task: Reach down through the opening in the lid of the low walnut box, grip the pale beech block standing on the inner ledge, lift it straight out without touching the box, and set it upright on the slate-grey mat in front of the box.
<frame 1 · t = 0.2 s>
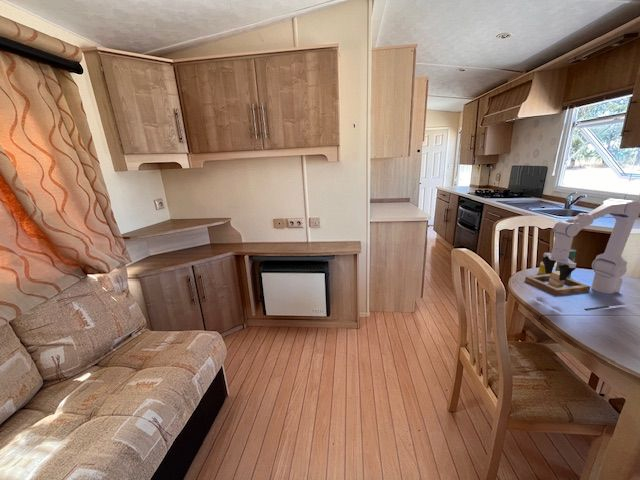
hand: (555, 276, 118), 10 cm above the table, fingers open, 7 cm apart
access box: (555, 287, 129), on the table
beech block: (555, 285, 129), point 1 cm above the table, touching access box
supplement bottle: (544, 276, 142), on the table
place mat: (583, 302, 115), on the table
can: (562, 275, 141), on the table
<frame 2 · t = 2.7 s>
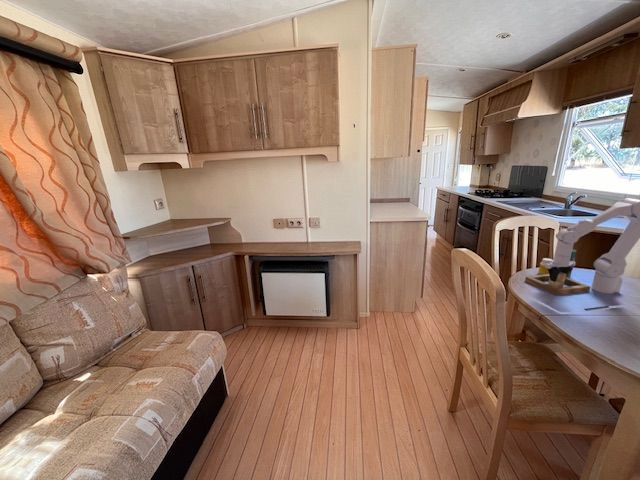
hand: (556, 280, 128), 4 cm above the table, fingers closed on beech block, 4 cm apart
beech block: (555, 285, 129), point 1 cm above the table, touching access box, gripper
everything else where it was.
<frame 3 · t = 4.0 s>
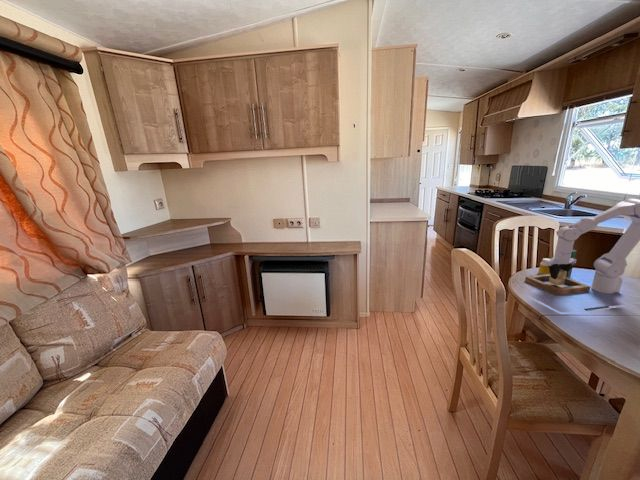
hand: (557, 277, 127), 5 cm above the table, fingers closed on beech block, 4 cm apart
beech block: (556, 283, 128), point 2 cm above the table, touching gripper
everything else where it was.
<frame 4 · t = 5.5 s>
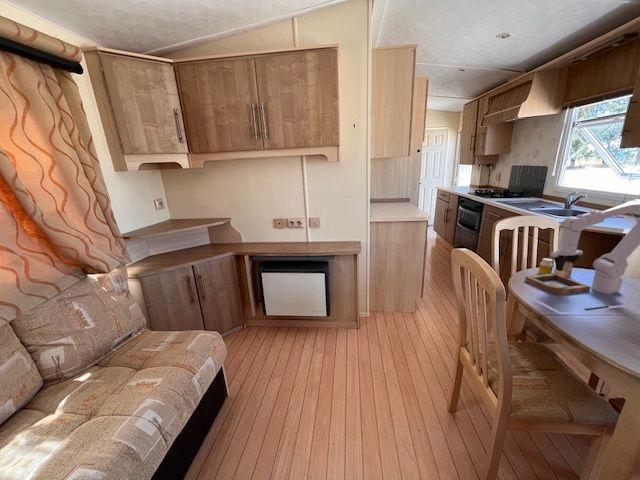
hand: (562, 269, 124), 10 cm above the table, fingers closed on beech block, 4 cm apart
beech block: (561, 275, 125), point 7 cm above the table, touching gripper
everything else where it was.
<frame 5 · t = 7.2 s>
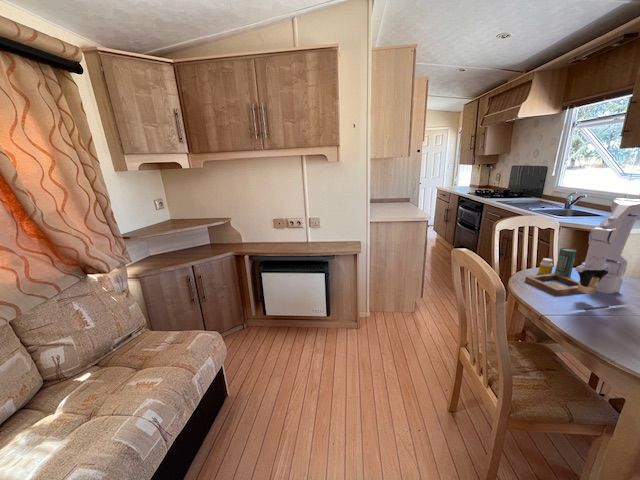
hand: (588, 285, 112), 8 cm above the table, fingers closed on beech block, 4 cm apart
beech block: (586, 291, 113), point 5 cm above the table, touching gripper
everything else where it was.
when the fingers open (5 cm above the table, at t = 8.7 s): beech block drops 2 cm, resting on place mat.
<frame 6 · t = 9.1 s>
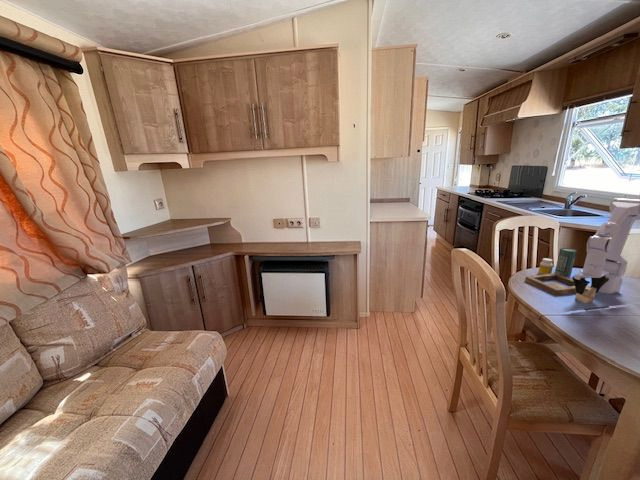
hand: (586, 292, 113), 5 cm above the table, fingers open, 7 cm apart
beech block: (583, 301, 115), resting on place mat
everything else where it was.
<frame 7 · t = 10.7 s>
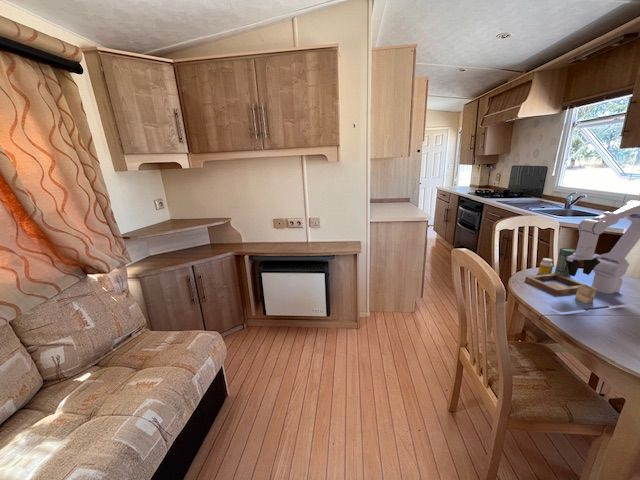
hand: (578, 274, 118), 10 cm above the table, fingers open, 7 cm apart
nothing on the table moved.
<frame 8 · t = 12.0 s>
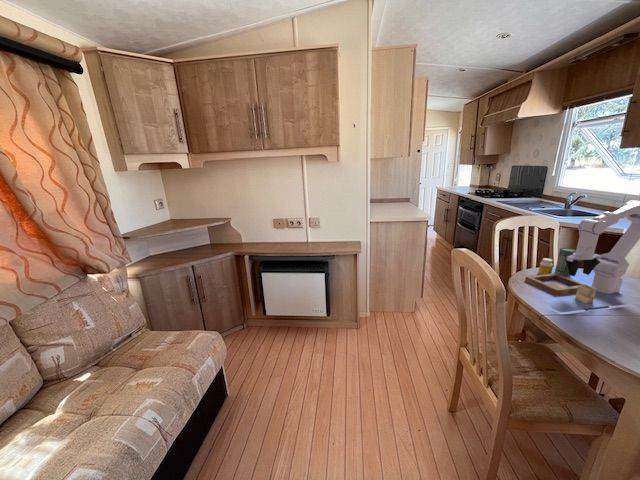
hand: (578, 274, 118), 10 cm above the table, fingers open, 7 cm apart
nothing on the table moved.
at the end: beech block inside the target area (0.2 cm from its centre), resting on place mat; beech block tilted 0°; beech block touching place mat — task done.
